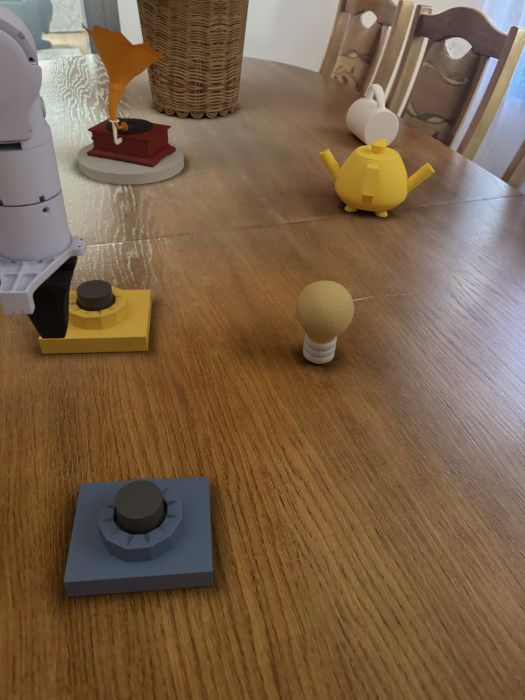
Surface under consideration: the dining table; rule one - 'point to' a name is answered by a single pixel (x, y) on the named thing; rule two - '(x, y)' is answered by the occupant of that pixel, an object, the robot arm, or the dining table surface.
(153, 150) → the gramophone
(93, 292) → the button
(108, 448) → the dining table surface
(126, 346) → the block
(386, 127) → the mug
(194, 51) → the wicker basket
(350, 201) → the teapot
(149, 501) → the button
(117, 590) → the block
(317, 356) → the light bulb
